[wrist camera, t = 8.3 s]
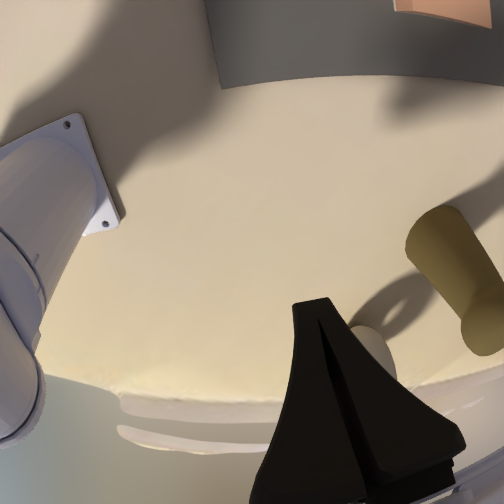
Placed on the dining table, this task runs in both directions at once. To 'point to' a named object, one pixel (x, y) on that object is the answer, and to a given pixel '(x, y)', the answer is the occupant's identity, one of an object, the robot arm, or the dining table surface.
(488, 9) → the tile
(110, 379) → the dining table surface
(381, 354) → the donut
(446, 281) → the cork
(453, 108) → the dining table surface
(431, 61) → the mat
